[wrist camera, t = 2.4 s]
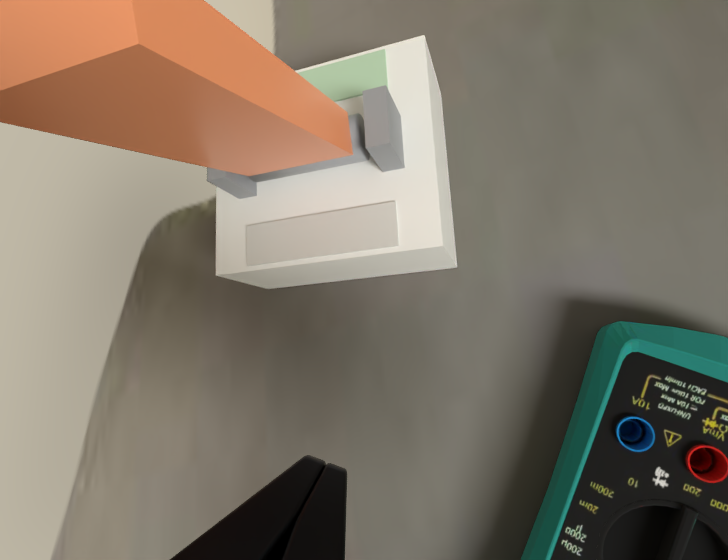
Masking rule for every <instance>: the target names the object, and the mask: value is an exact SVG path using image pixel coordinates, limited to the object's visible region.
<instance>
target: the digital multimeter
mask: <svg viewBox="0 0 728 560" xmlns="http://www.w3.org/2000/svg"><path fill="white" fill-rule="evenodd" d="M622 361H623V362H622ZM667 361H668V362H667ZM670 362H671V363H670ZM621 364H622V365H621ZM687 368H688V369H687ZM690 369H691V370H690ZM618 372H619V373H618ZM617 375H618V376H617ZM707 375H708V376H707ZM710 376H711V377H710ZM615 380H616V381H615ZM727 382H728V338H727V337H723V336H720V335H715V334H709V333H704V332H699V331H693V330H688V329H682V328H677V327H670V326H661V325H652V324H643V323H634V322H624V321H618V322H614V323H611V324H608V325H606V326H603V327H601V329H600V330H599V331H598V333H597V336H596V339H595V342H594V346H593V349H592V352H591V356H590V359H589V362H588V366H587V369H586V372H585V375H584V379H583V382H582V385H581V389H580V392H579V395H578V399H577V402H576V405H575V408H574V411H573V414H572V417H571V420H570V423H569V426H568V429H567V432H566V435H565V438H564V441H563V444H562V447H561V450H560V453H559V456H558V459H557V462H556V465H555V468H554V471H553V474H552V477H551V480H550V483H549V486H548V489H547V492H546V494H545V497H544V500H543V502H542V505H541V508H540V510H539V513H538V515H537V518H536V521H535V523H534V526H533V528H532V531H531V534H530V536H529V539H528V542H527V544H526V547H525V549H524V552H523V555H522V557H521V560H728V383H727ZM614 383H615V384H614ZM613 386H614V387H613ZM611 391H612V392H611ZM610 394H611V395H610ZM609 397H610V398H609ZM607 402H608V403H607ZM606 405H607V406H606ZM605 408H606V409H605ZM603 413H604V414H603ZM602 416H603V417H602ZM601 419H602V420H601ZM599 424H600V425H599ZM598 427H599V428H598ZM597 430H598V431H597ZM596 433H597V434H596ZM594 438H595V439H594ZM593 441H594V442H593ZM592 444H593V445H592ZM589 452H590V453H589ZM588 455H589V456H588ZM585 463H586V464H585ZM584 466H585V467H584ZM580 477H581V478H580ZM643 500H645V501H643ZM665 500H666V501H665ZM671 501H672V502H671ZM634 502H635V503H634ZM675 502H677V503H675ZM687 506H688V507H687ZM622 507H623V508H622ZM690 507H691V508H690ZM621 508H622V509H621ZM614 513H615V514H614ZM701 513H702V514H701ZM703 514H704V515H705V516H704V515H703ZM605 523H606V524H605ZM715 523H716V524H717V525H718V526H717V525H716V524H715ZM726 534H727V535H726ZM599 535H600V536H599Z"/></svg>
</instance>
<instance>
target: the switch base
mask: <svg viewBox="0 0 728 560" xmlns="http://www.w3.org/2000/svg"><path fill="white" fill-rule="evenodd" d="M295 72H297V73H298V74H299V75H300V76H302V77H303V78H304V79H305V80H307V81H308V82H309V83H311V84H312V85H313V86H314V87H316V88H317V89H318V90H320V91H321V92H322V93H323V94H325V95H326V96H327V97H329V98H330V99H331V100H332V101H334V102H335V103H336V104H338V105H339V106H340V107H341V108H343V109H344V110H345V111H347V112H348V116H349V115H353V114H357V113H359V114H361V116H362V117H363V119H364V127H365V144H366V149H367V150H368V152H369V153H370V158H369V160H368V161H363V162H358V163H353V164H348V165H343V166H338V167H333V168H328V169H323V170H318V171H313V172H308V173H303V174H298V175H293V176H287V177H282V178H277V179H272V180H267V181H262V182H254V181H252V180H251V179H250V178H249V176H245V175H241V174H236V173H232V172H227V171H222V170H218V169H213V168H209V167H207V181H208V182H210V183H212V184H214V185H215V186H216V276H220V277H223V278H227V279H231V280H235V281H239V282H243V283H247V284H250V285H254V286H258V287H262V288H266V289H273V288H282V287H291V286H300V285H308V284H317V283H326V282H335V281H343V280H352V279H361V278H370V277H378V276H387V275H396V274H405V273H413V272H422V271H431V270H440V269H448V268H457V259H456V248H455V238H454V227H453V216H452V206H451V195H450V184H449V174H448V163H447V152H446V141H445V131H444V120H443V109H442V99H441V92H440V89H439V85H438V82H437V78H436V74H435V71H434V67H433V64H432V60H431V57H430V53H429V49H428V46H427V42H426V39H425V35H423V36H419V37H415V38H412V39H408V40H405V41H401V42H397V43H394V44H390V45H386V46H383V47H379V48H376V49H372V50H368V51H365V52H361V53H358V54H354V55H350V56H347V57H343V58H340V59H336V60H332V61H329V62H325V63H322V64H318V65H314V66H311V67H307V68H304V69H300V70H296V71H295Z"/></svg>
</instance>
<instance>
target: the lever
mask: <svg viewBox="0 0 728 560" xmlns="http://www.w3.org/2000/svg"><path fill="white" fill-rule="evenodd" d="M0 122H2V123H7V124H11V125H16V126H20V127H25V128H30V129H34V130H39V131H43V132H48V133H53V134H57V135H62V136H67V137H71V138H75V139H80V140H85V141H89V142H94V143H98V144H103V145H108V146H112V147H117V148H122V149H126V150H131V151H135V152H140V153H144V154H149V155H154V156H158V157H163V158H168V159H172V160H177V161H181V162H186V163H190V164H195V165H199V166H205V167H209V168H213V169H218V170H222V171H227V172H232V173H236V174H241V175H245V176H249V178H250V179H251V180H252V181H254V182H262V181H267V180H272V179H277V178H282V177H287V176H293V175H298V174H303V173H308V172H313V171H318V170H323V169H328V168H333V167H338V166H343V165H348V164H353V163H358V162H363V161H368V160H369V158H370V153H369V152H368V150H367V149H366V144H365V127H364V119H363V117H362V116H361V114H359V113H357V114H353V115H349V116H348V112H347V111H345V110H344V109H343V108H341V107H340V106H339V105H338V104H336V103H335V102H334V101H332V100H331V99H330V98H329V97H327V96H326V95H325V94H323V93H322V92H321V91H320V90H318V89H317V88H316V87H314V86H313V85H312V84H311V83H309V82H308V81H307V80H305V79H304V78H303V77H302V76H300V75H299V74H298V73H297V72H295V71H294V70H293V69H291V68H290V67H289V66H288V65H286V64H285V63H284V62H282V61H281V60H280V59H279V58H277V57H276V56H275V55H273V54H272V53H271V52H270V51H268V50H267V49H265V48H264V47H263V46H262V45H261V44H259V43H258V42H257V41H255V40H254V39H253V38H252V37H250V36H249V35H248V34H246V33H245V32H244V31H243V30H241V29H240V28H239V27H237V26H236V25H235V24H234V23H232V22H231V21H230V20H229V19H227V18H226V17H225V16H223V15H222V14H221V13H220V12H218V11H217V10H215V9H214V8H213V7H212V6H210V5H209V4H208V3H207V2H205V1H204V0H0Z"/></svg>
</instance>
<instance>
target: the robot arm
mask: <svg viewBox="0 0 728 560" xmlns="http://www.w3.org/2000/svg"><path fill="white" fill-rule="evenodd" d="M346 497H347V471H346V469H344V468H342V467H339V466H337V465H334V464H331V463H328V464H327V465H326V463H325V461H323V460H321V459H318V458H315V457H313V456H310V455H307V456H304V457H303V458H301V459H300V460H299V461H297V462H296V463H295V464H294V465H292V466H291V467H290V468H288V469H287V470H286V471H284V472H283V473H282V474H281V475H279V476H278V477H277V478H275V479H274V480H273V481H271V482H270V483H269V484H268V485H266V486H265V487H264V488H262V489H261V490H260V491H258V492H257V493H256V494H254V495H253V496H252V497H251V498H249V499H248V500H247V501H245V502H244V503H243V504H241V505H240V506H239V507H238V508H236V509H235V510H234V511H232V512H231V513H230V514H228V515H227V516H226V517H225V518H223V519H222V520H221V521H219V522H218V523H217V524H215V525H214V526H213V527H212V528H210V529H209V530H208V531H206V532H205V533H204V534H202V535H201V536H200V537H199V538H197V539H196V540H195V541H193V542H192V543H191V544H189V545H188V546H187V547H186V548H184V549H183V550H182V551H180V552H179V553H178V554H176V555H175V556H174V557H173V558H171V559H170V560H345V532H346Z"/></svg>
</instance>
